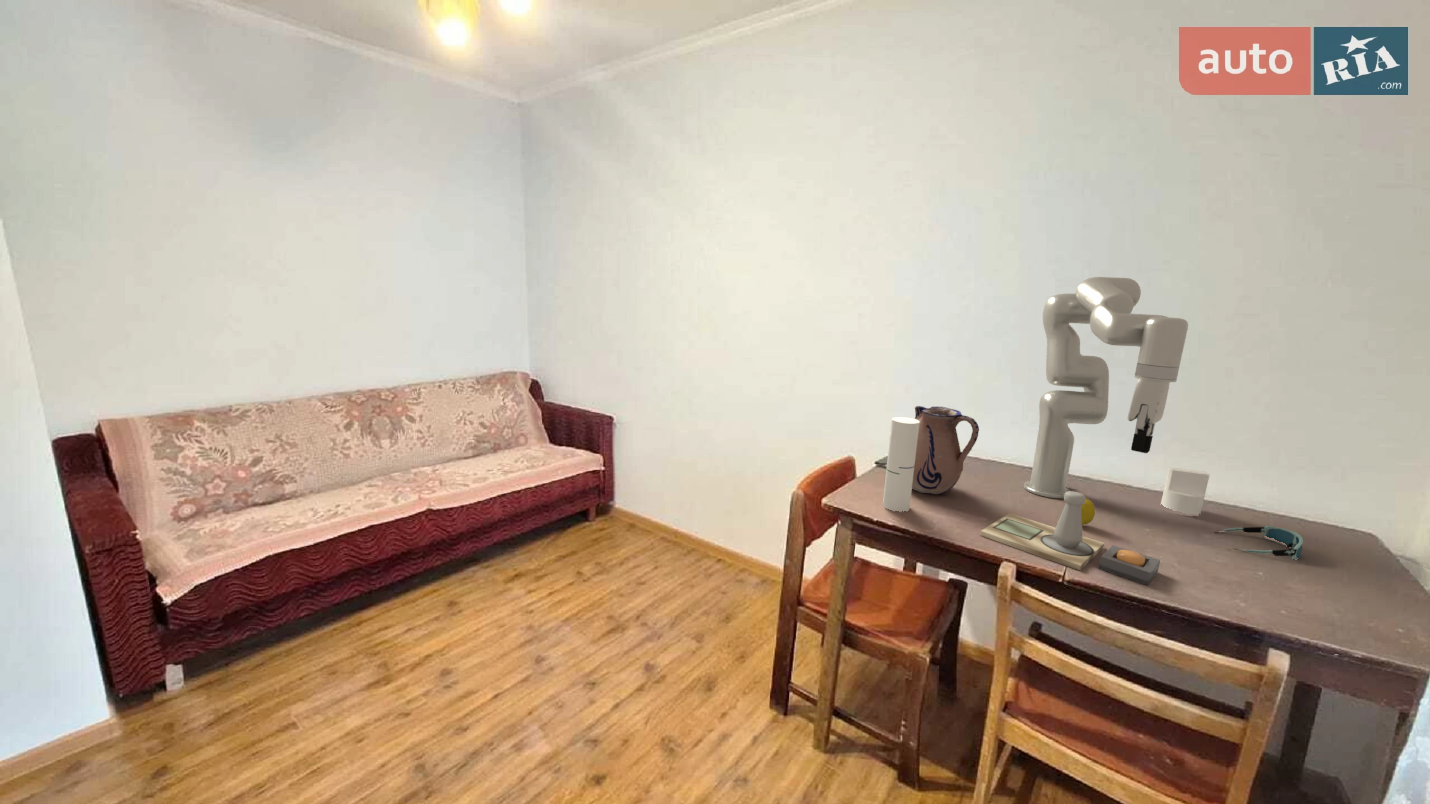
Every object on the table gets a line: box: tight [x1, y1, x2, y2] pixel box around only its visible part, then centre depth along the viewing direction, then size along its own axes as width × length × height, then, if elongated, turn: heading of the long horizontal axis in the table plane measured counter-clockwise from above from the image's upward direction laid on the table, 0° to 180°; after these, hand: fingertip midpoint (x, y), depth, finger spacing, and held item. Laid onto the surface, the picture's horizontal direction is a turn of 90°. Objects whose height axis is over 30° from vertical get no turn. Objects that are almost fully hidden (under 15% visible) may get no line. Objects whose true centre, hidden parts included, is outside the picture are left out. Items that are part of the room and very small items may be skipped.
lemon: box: [1081, 496, 1096, 526], centre depth 148 cm, size 6×6×8 cm
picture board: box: [979, 512, 1105, 571], centre depth 139 cm, size 18×22×1 cm
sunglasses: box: [1222, 525, 1304, 560], centre depth 141 cm, size 14×15×5 cm
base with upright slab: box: [1160, 467, 1210, 514], centre depth 161 cm, size 9×9×12 cm
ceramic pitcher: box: [912, 405, 980, 495], centre depth 168 cm, size 18×21×25 cm
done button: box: [1116, 549, 1145, 567], centre depth 125 cm, size 5×5×2 cm
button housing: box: [1098, 544, 1161, 586], centre depth 125 cm, size 9×9×3 cm
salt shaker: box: [1054, 490, 1086, 548], centre depth 133 cm, size 6×6×13 cm
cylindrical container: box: [882, 416, 920, 513], centre depth 154 cm, size 7×7×25 cm
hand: (1140, 451), depth 130 cm, fingers closed
